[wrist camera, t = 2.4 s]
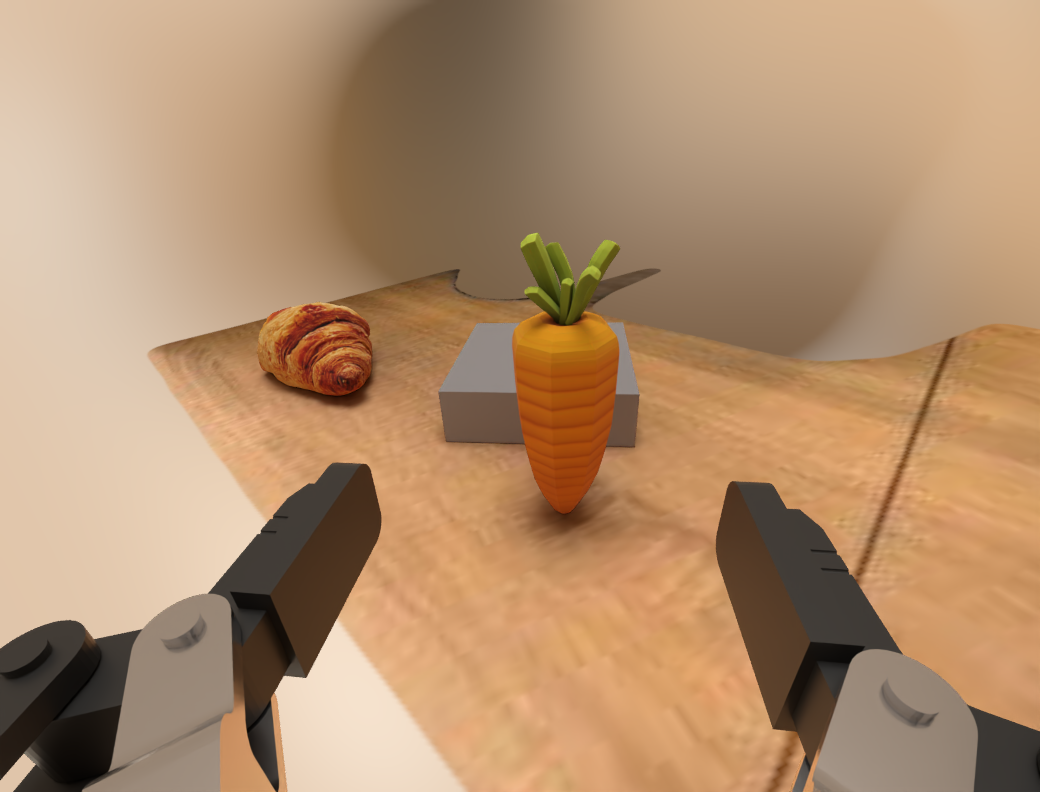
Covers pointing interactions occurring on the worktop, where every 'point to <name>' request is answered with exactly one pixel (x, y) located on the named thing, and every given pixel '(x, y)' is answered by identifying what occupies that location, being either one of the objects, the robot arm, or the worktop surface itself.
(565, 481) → the carrot
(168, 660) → the robot arm
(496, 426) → the base block
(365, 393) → the worktop surface
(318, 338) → the croissant
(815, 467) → the worktop surface
